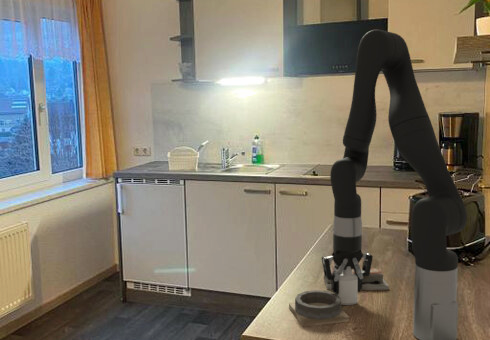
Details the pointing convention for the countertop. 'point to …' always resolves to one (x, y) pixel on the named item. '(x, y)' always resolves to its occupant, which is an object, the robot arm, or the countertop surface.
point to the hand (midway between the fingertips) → (346, 292)
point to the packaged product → (367, 280)
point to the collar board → (318, 308)
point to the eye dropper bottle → (348, 287)
